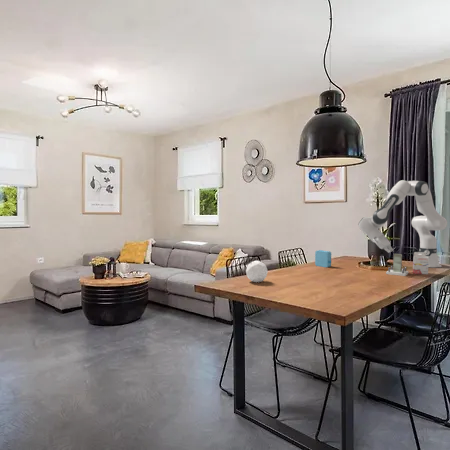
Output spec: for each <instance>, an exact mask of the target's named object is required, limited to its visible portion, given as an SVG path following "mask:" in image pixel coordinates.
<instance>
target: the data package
mask: <svg viewBox="0 0 450 450" xmlns="http://www.w3.org/2000/svg"><path fill="white" fill-rule="evenodd" d="M314 255H315V256H314V257H315V259H314V265H315V266H316V267H321V268H322V267H323V268H330V267H331V266H332V252H331V251H329V250H321V249H319V250H316V251H315V254H314Z"/></svg>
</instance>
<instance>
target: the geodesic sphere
mask: <svg viewBox="0 0 450 450" xmlns="http://www.w3.org/2000/svg"><path fill="white" fill-rule="evenodd" d="M245 274H246V276H247V279H249V280H250V281H251V282H253V283H257V282H258V283H260V282H261V283H262V282H264V281H265V279H266V278H267V277H268V268H267V264H265V263H264V262H262V261H260V260H256V259H255V260H254V261H250V262H249V264H247V267H246V269H245Z"/></svg>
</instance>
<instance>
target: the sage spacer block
mask: <svg viewBox="0 0 450 450" xmlns="http://www.w3.org/2000/svg"><path fill="white" fill-rule="evenodd" d="M392 260H393V265H392V266H393V272H401V271H402V269H403V268H402V267H403V264H402V263H403V262H402V260H403V254H402V253H393V259H392Z"/></svg>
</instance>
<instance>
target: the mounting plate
mask: <svg viewBox="0 0 450 450" xmlns="http://www.w3.org/2000/svg"><path fill="white" fill-rule="evenodd" d="M385 274H386V275H392V276H400V277H406V276H408V274H409V270H406V271H404V273H402V271H401V272H393V270H391V268H390V272H388V270H387V271H386V272H385Z"/></svg>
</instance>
